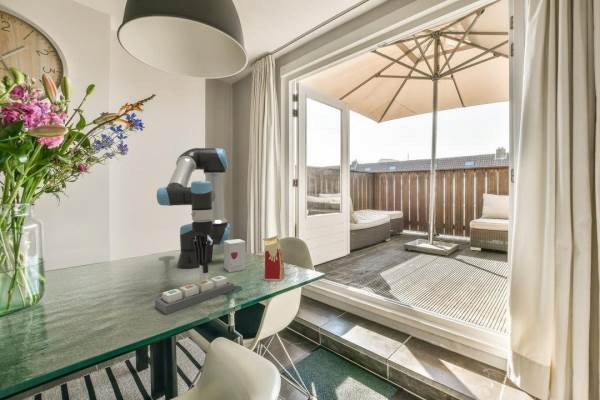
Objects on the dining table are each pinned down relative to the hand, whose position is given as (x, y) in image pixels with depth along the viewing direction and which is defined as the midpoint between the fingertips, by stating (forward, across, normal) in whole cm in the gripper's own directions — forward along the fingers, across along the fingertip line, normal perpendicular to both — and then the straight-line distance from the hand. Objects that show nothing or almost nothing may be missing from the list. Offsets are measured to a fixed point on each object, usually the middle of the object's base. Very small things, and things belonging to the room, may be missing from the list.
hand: (204, 280), depth 103 cm
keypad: (+6, 0, -3) cm, 7 cm away
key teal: (+3, 0, -12) cm, 13 cm away
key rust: (+3, 0, -6) cm, 7 cm away
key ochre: (+3, 0, 0) cm, 3 cm away
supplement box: (+6, -20, +29) cm, 36 cm away
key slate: (+3, 0, +6) cm, 7 cm away
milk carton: (+6, +6, +32) cm, 33 cm away
